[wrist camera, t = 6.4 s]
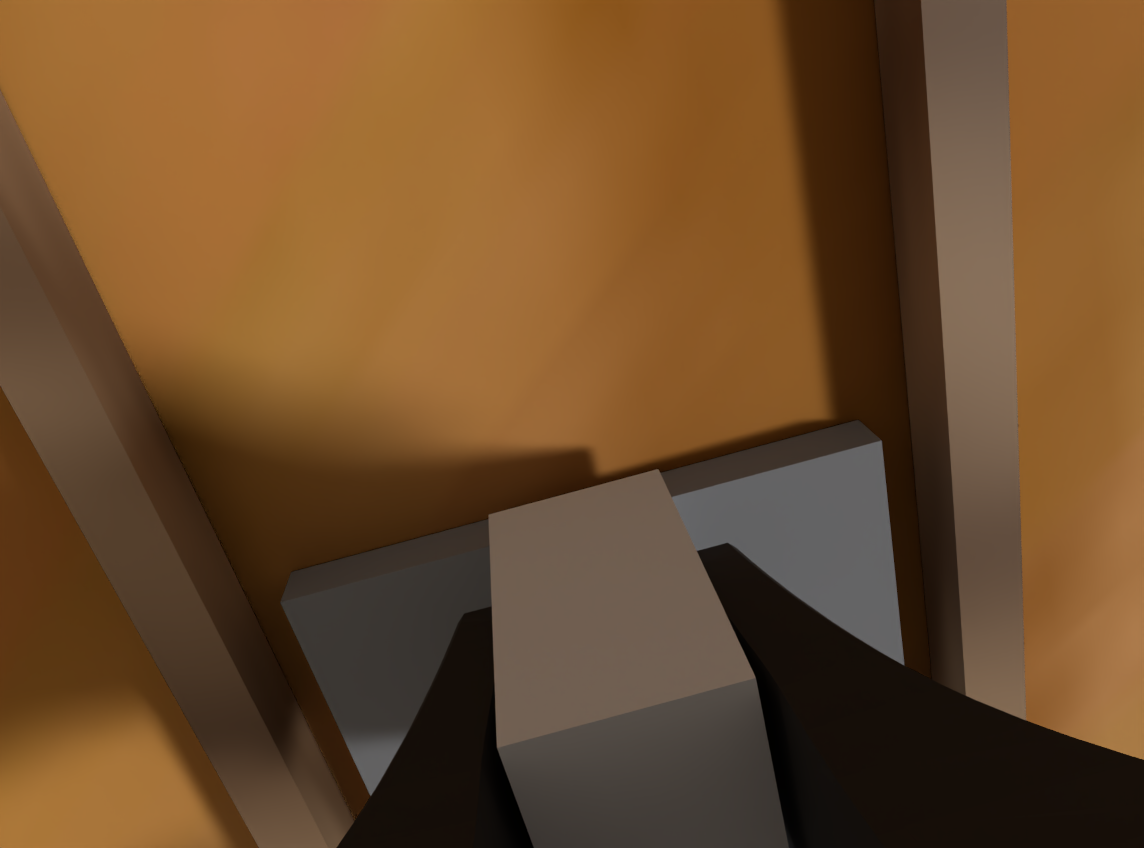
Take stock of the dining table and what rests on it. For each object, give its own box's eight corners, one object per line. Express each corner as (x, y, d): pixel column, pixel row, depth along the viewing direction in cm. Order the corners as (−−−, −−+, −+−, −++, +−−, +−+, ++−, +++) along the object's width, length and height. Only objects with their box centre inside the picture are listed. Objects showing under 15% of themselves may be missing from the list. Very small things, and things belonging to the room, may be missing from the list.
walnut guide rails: (1003, 1012, 19) (1036, 1069, 18) (469, 1158, 19) (469, 1224, 18) (926, -492, 9) (990, -572, 8) (-239, -185, 9) (-339, -222, 8)
